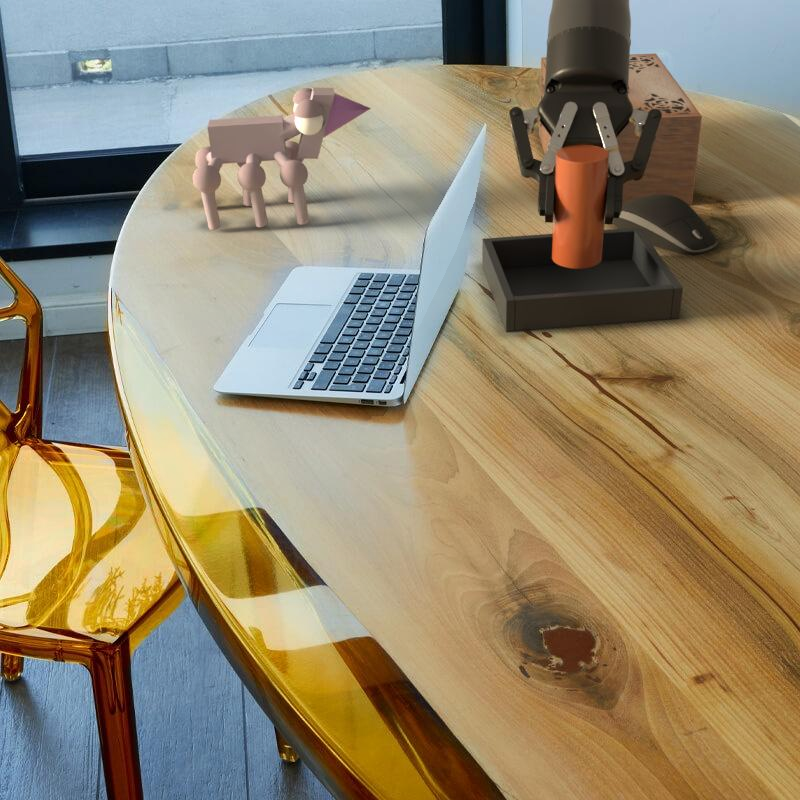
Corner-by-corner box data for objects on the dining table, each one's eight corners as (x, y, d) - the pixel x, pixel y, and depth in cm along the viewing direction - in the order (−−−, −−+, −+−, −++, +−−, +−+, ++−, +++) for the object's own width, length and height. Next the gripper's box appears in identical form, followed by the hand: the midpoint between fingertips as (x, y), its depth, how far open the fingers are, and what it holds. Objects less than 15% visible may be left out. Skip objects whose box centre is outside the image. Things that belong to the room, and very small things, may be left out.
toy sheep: (373, 190, 127) (367, 74, 120) (379, 225, 118) (373, 102, 111) (202, 202, 126) (186, 85, 119) (196, 238, 117) (177, 114, 110)
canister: (595, 246, 101) (601, 142, 96) (607, 266, 98) (615, 160, 92) (547, 249, 101) (550, 146, 96) (557, 270, 97) (562, 164, 92)
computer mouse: (680, 267, 106) (684, 230, 104) (598, 228, 115) (600, 193, 113) (731, 250, 109) (736, 212, 107) (647, 213, 118) (650, 178, 116)
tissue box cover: (691, 204, 120) (701, 116, 114) (561, 209, 120) (565, 120, 115) (649, 131, 141) (655, 53, 136) (538, 134, 142) (541, 57, 137)
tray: (637, 262, 108) (640, 227, 106) (678, 326, 96) (683, 287, 94) (482, 273, 107) (482, 238, 105) (505, 339, 95) (506, 300, 93)
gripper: (508, 23, 96) (496, 201, 93) (672, 23, 94) (666, 205, 91) (511, 66, 104) (500, 233, 100) (664, 67, 101) (657, 238, 98)
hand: (579, 219), depth 95 cm, fingers closed on canister, 4 cm apart
